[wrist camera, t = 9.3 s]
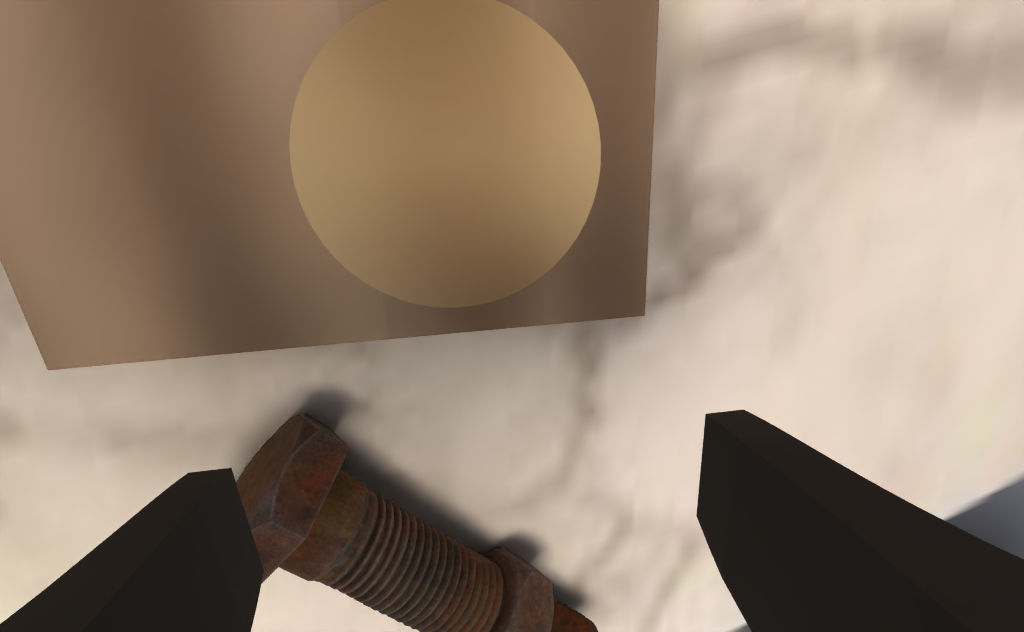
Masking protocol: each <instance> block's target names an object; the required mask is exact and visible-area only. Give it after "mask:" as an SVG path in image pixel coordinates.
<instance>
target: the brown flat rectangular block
mask: <svg viewBox="0 0 1024 632" xmlns="http://www.w3.org/2000/svg"><path fill="white" fill-rule="evenodd" d="M383 1H386V0H0V260H1V262H2V265H3V267H4V269H5V272H6V274H7V276H8V278H9V281H10V283H11V285H12V288H13V290H14V292H15V295H16V297H17V299H18V302H19V304H20V306H21V309H22V311H23V313H24V316H25V318H26V320H27V323H28V325H29V327H30V330H31V332H32V334H33V337H34V339H35V341H36V344H37V346H38V348H39V351H40V353H41V355H42V357H43V360H44V362H45V364H46V367H47V369H48V370H55V369H66V368H77V367H88V366H99V365H110V364H120V363H131V362H142V361H153V360H164V359H175V358H186V357H197V356H208V355H219V354H230V353H241V352H252V351H263V350H274V349H285V348H296V347H307V346H317V345H328V344H339V343H350V342H361V341H372V340H383V339H394V338H405V337H416V336H427V335H438V334H449V333H460V332H471V331H482V330H493V329H504V328H514V327H525V326H536V325H547V324H558V323H569V322H580V321H591V320H602V319H613V318H624V317H635V316H645V297H646V275H647V253H648V232H649V210H650V188H651V166H652V144H653V123H654V101H655V79H656V57H657V35H658V14H659V0H496V1H498V2H501V3H503V4H506V5H508V6H510V7H512V8H514V9H516V10H517V11H519V12H521V13H522V14H524V15H526V16H528V17H529V18H531V19H532V20H533V21H534V22H536V23H537V24H538V25H539V26H541V27H542V28H543V29H544V30H546V31H547V32H548V33H549V34H550V35H551V36H552V37H553V38H554V39H555V40H556V41H557V42H558V43H559V45H560V46H561V47H562V48H563V49H564V50H565V52H566V53H567V54H568V56H569V57H570V59H571V60H572V61H573V63H574V64H575V65H576V67H577V69H578V71H579V73H580V75H581V76H582V78H583V80H584V82H585V84H586V86H587V89H588V91H589V94H590V96H591V99H592V102H593V104H594V108H595V112H596V116H597V120H598V124H599V133H600V141H601V167H600V174H599V182H598V187H597V191H596V195H595V198H594V202H593V205H592V208H591V210H590V213H589V215H588V218H587V220H586V222H585V224H584V226H583V228H582V230H581V231H580V233H579V235H578V237H577V239H576V240H575V241H574V243H573V244H572V245H571V247H570V248H569V250H568V251H567V252H566V254H565V255H564V256H563V257H562V258H561V259H560V260H559V261H558V262H557V263H556V264H555V265H554V266H553V267H552V268H551V269H550V270H549V271H548V272H546V273H545V274H544V275H543V276H542V277H540V278H539V279H538V280H536V281H535V282H533V283H532V284H530V285H528V286H527V287H525V288H524V289H522V290H520V291H518V292H516V293H514V294H512V295H509V296H507V297H505V298H502V299H499V300H496V301H493V302H490V303H485V304H481V305H476V306H469V307H458V308H443V307H431V306H424V305H418V304H414V303H410V302H407V301H403V300H400V299H397V298H395V297H392V296H390V295H387V294H385V293H382V292H380V291H379V290H377V289H375V288H373V287H372V286H370V285H368V284H366V283H365V282H363V281H362V280H360V279H359V278H358V277H356V276H355V275H354V274H352V273H351V272H349V271H348V270H347V269H346V268H345V267H344V266H343V265H342V264H341V263H340V262H339V261H338V260H337V259H335V258H334V256H333V255H332V254H331V253H330V252H329V250H328V249H327V248H326V247H325V246H324V244H323V243H322V242H321V240H320V239H319V237H318V236H317V234H316V233H315V231H314V230H313V228H312V227H311V225H310V223H309V221H308V219H307V217H306V215H305V213H304V211H303V209H302V206H301V203H300V200H299V197H298V195H297V192H296V189H295V185H294V180H293V175H292V170H291V163H290V149H289V141H290V124H291V119H292V114H293V109H294V104H295V100H296V97H297V94H298V92H299V89H300V86H301V83H302V81H303V79H304V77H305V75H306V73H307V71H308V69H309V67H310V65H311V63H312V61H313V60H314V59H315V57H316V56H317V54H318V53H319V52H320V50H321V49H322V47H323V46H324V45H325V43H326V42H327V41H328V40H329V39H330V38H331V37H332V36H333V35H334V34H335V33H336V32H337V31H338V30H339V29H340V28H341V27H342V26H344V25H345V24H346V23H348V22H349V21H350V20H351V19H353V18H354V17H355V16H357V15H358V14H360V13H361V12H363V11H365V10H367V9H369V8H371V7H372V6H374V5H376V4H378V3H380V2H383Z"/></svg>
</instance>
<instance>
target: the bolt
mask: <svg viewBox="0 0 1024 632" xmlns="http://www.w3.org/2000/svg"><path fill="white" fill-rule="evenodd" d="M349 449H350V448H349V447H348V446H347V445H346V444H345V443H344V442H343V441H342V440H341V439H340V438H339V437H338V436H337V434H336V433H335V432H334V431H332V430H331V429H329V428H327V427H326V426H324V425H322V424H321V423H319V422H318V421H316V420H314V419H313V418H311V417H309V416H308V415H306V414H304V413H302V414H300V415H298V416H296V417H294V418H292V419H290V420H289V421H287V422H286V423H285V424H284V425H282V426H281V427H280V428H279V429H278V430H277V432H276V433H275V434H274V435H273V436H272V437H271V438H270V439H269V440H267V442H266V443H265V444H264V445H263V446H262V448H261V449H260V450H259V452H258V453H257V454H256V455H255V457H254V458H253V459H252V461H251V462H250V463H249V464H248V466H247V467H246V469H245V470H244V471H243V473H242V474H241V476H240V477H239V479H238V480H237V481H236V485H237V488H238V491H239V494H240V497H241V500H242V504H243V507H244V510H245V513H246V516H247V519H248V522H249V525H250V529H251V532H252V535H253V538H254V541H255V544H256V547H257V550H258V554H259V557H260V560H261V563H262V566H263V569H264V573H263V578H262V583H263V582H264V581H265V580H266V579H267V578H268V577H269V576H270V575H271V574H272V573H273V572H274V571H275V570H276V569H277V568H278V567H280V568H282V569H284V570H286V571H288V572H290V573H292V574H295V575H297V576H299V577H301V578H303V579H305V580H307V581H317V582H321V583H323V584H325V585H327V586H330V587H331V588H333V589H338V591H340V592H342V593H346V595H348V596H349V597H351V598H354V599H355V600H357V601H359V602H361V603H363V604H364V605H366V606H368V607H371V608H372V609H373V610H378V611H379V612H380V613H381V614H387V616H388V617H390V618H393V619H395V620H396V621H398V622H402V623H403V624H404V625H406V626H410V627H411V628H412V629H417V630H418V631H420V632H598V630H597V628H596V626H595V625H594V623H593V622H592V621H590V620H589V619H588V618H586V617H585V616H584V615H582V614H580V613H579V612H577V611H576V610H574V609H571V608H570V607H568V606H567V605H566V604H563V603H561V602H560V601H558V600H556V599H554V598H553V588H552V583H551V581H550V580H549V579H548V578H547V577H545V576H544V575H543V574H542V573H541V572H539V571H538V570H537V569H535V568H534V567H533V566H532V565H530V564H529V563H528V562H526V561H525V560H523V559H522V558H520V557H518V556H517V555H515V554H513V553H512V552H510V551H508V550H507V549H505V548H503V547H500V548H497V549H494V550H492V551H490V552H488V553H485V554H484V555H481V554H479V553H476V552H475V551H474V550H472V549H469V548H467V547H466V546H464V545H462V544H460V543H459V542H457V541H455V540H454V539H453V538H449V537H448V536H447V535H446V534H443V533H442V532H441V531H439V530H438V529H435V528H433V527H432V526H430V525H428V524H427V523H426V522H424V521H422V520H420V519H419V518H417V517H415V516H413V515H411V514H410V513H408V512H406V511H405V510H404V509H402V508H400V507H398V506H396V505H395V504H393V503H390V501H389V500H387V499H383V498H382V496H380V495H378V494H375V493H374V492H373V491H371V490H370V489H368V488H367V486H366V484H365V483H363V482H361V481H360V480H358V479H356V478H355V477H353V476H351V475H350V474H348V473H346V472H344V471H343V470H341V469H340V468H341V466H342V464H343V462H344V460H345V458H346V456H347V454H348V452H349ZM262 583H261V584H262Z"/></svg>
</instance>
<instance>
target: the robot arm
mask: <svg viewBox="0 0 1024 632" xmlns="http://www.w3.org/2000/svg"><path fill="white" fill-rule="evenodd" d="M697 518H698V520H699V523H700V526H701V528H702V531H703V533H704V536H705V538H706V541H707V543H708V546H709V548H710V551H711V553H712V555H713V558H714V560H715V562H716V565H717V567H718V569H719V572H720V574H721V577H722V578H723V580H724V582H725V584H726V586H727V588H728V590H729V591H730V593H731V595H732V597H733V599H734V600H735V602H736V604H737V606H738V608H739V609H740V611H741V613H742V615H743V617H744V619H745V620H746V622H747V624H748V626H749V628H750V629H751V631H752V632H1024V559H1021V558H1019V557H1017V556H1015V555H1012V554H1010V553H1008V552H1006V551H1004V550H1002V549H1000V548H998V547H996V546H994V545H991V544H989V543H987V542H985V541H983V540H981V539H979V538H977V537H975V536H973V535H971V534H969V533H967V532H965V531H963V530H961V529H959V528H957V527H956V526H954V525H951V524H950V523H947V522H946V521H944V520H942V519H940V518H938V517H936V516H934V515H932V514H930V513H928V512H926V511H924V510H922V509H920V508H918V507H917V506H915V505H913V504H911V503H909V502H907V501H905V500H904V499H902V498H900V497H898V496H896V495H894V494H892V493H891V492H889V491H887V490H885V489H883V488H882V487H880V486H878V485H876V484H874V483H873V482H871V481H869V480H867V479H865V478H864V477H862V476H860V475H858V474H857V473H855V472H853V471H851V470H850V469H848V468H846V467H844V466H843V465H841V464H839V463H837V462H836V461H834V460H832V459H830V458H829V457H827V456H825V455H824V454H822V453H820V452H818V451H817V450H815V449H813V448H812V447H810V446H808V445H806V444H805V443H803V442H801V441H800V440H798V439H796V438H794V437H793V436H791V435H789V434H787V433H786V432H784V431H782V430H780V429H779V428H777V427H775V426H774V425H772V424H770V423H768V422H766V421H765V420H763V419H761V418H759V417H757V416H755V415H753V414H751V413H749V412H747V411H745V410H736V411H728V412H719V413H710V414H706V417H705V428H704V439H703V450H702V462H701V473H700V484H699V495H698V506H697ZM263 573H264V569H263V566H262V563H261V560H260V557H259V554H258V550H257V547H256V544H255V541H254V538H253V535H252V532H251V529H250V525H249V522H248V519H247V516H246V513H245V510H244V507H243V504H242V500H241V497H240V494H239V491H238V488H237V485H236V482H235V479H234V476H233V472H232V469H231V468H227V469H218V470H209V471H200V472H192V473H188V474H186V475H185V476H184V477H182V478H181V479H179V480H178V481H177V482H175V483H174V484H173V485H171V486H170V487H169V488H168V489H166V490H165V491H164V492H163V493H161V494H160V495H159V496H158V497H156V498H155V499H154V500H153V501H151V502H150V503H149V504H148V505H147V506H145V507H144V508H143V509H142V510H141V511H139V512H138V513H137V514H136V515H135V516H133V517H132V518H131V519H130V520H128V521H127V522H126V523H125V524H124V525H122V526H121V527H120V528H119V529H118V530H116V531H115V532H114V533H113V534H112V535H111V536H109V537H108V538H107V539H106V540H104V541H103V542H102V543H101V544H100V545H98V546H97V547H96V548H95V549H94V550H92V551H91V552H90V553H89V554H87V555H86V556H85V557H84V558H83V559H81V560H80V561H79V562H78V563H77V564H75V565H74V566H73V567H72V568H70V569H69V570H68V571H67V572H66V573H64V574H63V575H62V576H61V577H60V578H58V579H57V580H56V581H55V582H53V583H52V584H51V585H50V586H49V587H47V588H46V589H45V590H44V591H42V592H41V593H40V594H38V595H37V596H36V597H35V598H33V599H32V600H31V601H29V602H28V603H27V604H26V605H24V606H23V607H22V608H20V609H19V610H18V611H17V612H15V613H14V614H13V615H11V616H10V617H9V618H8V619H6V620H5V621H4V622H2V623H1V624H0V632H251V628H252V624H253V619H254V615H255V611H256V607H257V602H258V597H259V592H260V587H261V583H262V578H263Z"/></svg>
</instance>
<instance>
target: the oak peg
mask: <svg viewBox="0 0 1024 632" xmlns="http://www.w3.org/2000/svg"><path fill="white" fill-rule="evenodd" d="M289 149H290V163H291V170H292V175H293V180H294V185H295V189H296V192H297V195H298V197H299V200H300V203H301V206H302V209H303V211H304V213H305V215H306V217H307V219H308V221H309V223H310V225H311V227H312V228H313V230H314V231H315V233H316V234H317V236H318V237H319V239H320V240H321V242H322V243H323V244H324V246H325V247H326V248H327V249H328V250H329V252H330V253H331V254H332V255H333V256H334V258H335V259H337V260H338V261H339V262H340V263H341V264H342V265H343V266H344V267H345V268H346V269H347V270H348V271H349V272H351V273H352V274H354V275H355V276H356V277H358V278H359V279H360V280H362V281H363V282H365V283H366V284H368V285H370V286H372V287H373V288H375V289H377V290H379V291H380V292H382V293H385V294H387V295H390V296H392V297H395V298H397V299H400V300H403V301H407V302H410V303H414V304H418V305H424V306H431V307H443V308H458V307H469V306H476V305H481V304H485V303H490V302H493V301H496V300H499V299H502V298H505V297H507V296H509V295H512V294H514V293H516V292H518V291H520V290H522V289H524V288H525V287H527V286H528V285H530V284H532V283H533V282H535V281H536V280H538V279H539V278H540V277H542V276H543V275H544V274H545V273H546V272H548V271H549V270H550V269H551V268H552V267H553V266H554V265H555V264H556V263H557V262H558V261H559V260H560V259H561V258H562V257H563V256H564V255H565V254H566V252H567V251H568V250H569V248H570V247H571V245H572V244H573V243H574V241H575V240H576V239H577V237H578V235H579V233H580V231H581V230H582V228H583V226H584V224H585V222H586V220H587V218H588V215H589V213H590V210H591V208H592V205H593V202H594V198H595V195H596V191H597V187H598V182H599V174H600V167H601V141H600V133H599V124H598V120H597V116H596V112H595V108H594V104H593V102H592V99H591V96H590V94H589V91H588V89H587V86H586V84H585V82H584V80H583V78H582V76H581V75H580V73H579V71H578V69H577V67H576V65H575V64H574V63H573V61H572V60H571V59H570V57H569V56H568V54H567V53H566V52H565V50H564V49H563V48H562V47H561V46H560V45H559V43H558V42H557V41H556V40H555V39H554V38H553V37H552V36H551V35H550V34H549V33H548V32H547V31H546V30H544V29H543V28H542V27H541V26H539V25H538V24H537V23H536V22H534V21H533V20H532V19H531V18H529V17H528V16H526V15H524V14H522V13H521V12H519V11H517V10H516V9H514V8H512V7H510V6H508V5H506V4H503V3H501V2H498V1H496V0H386V1H383V2H380V3H378V4H376V5H374V6H372V7H371V8H369V9H367V10H365V11H363V12H361V13H360V14H358V15H357V16H355V17H354V18H353V19H351V20H350V21H349V22H348V23H346V24H345V25H344V26H342V27H341V28H340V29H339V30H338V31H337V32H336V33H335V34H334V35H333V36H332V37H331V38H330V39H329V40H328V41H327V42H326V43H325V45H324V46H323V47H322V49H321V50H320V52H319V53H318V54H317V56H316V57H315V59H314V60H313V61H312V63H311V65H310V67H309V69H308V71H307V73H306V75H305V77H304V79H303V81H302V83H301V86H300V89H299V92H298V94H297V97H296V100H295V104H294V109H293V114H292V119H291V124H290V141H289Z"/></svg>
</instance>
